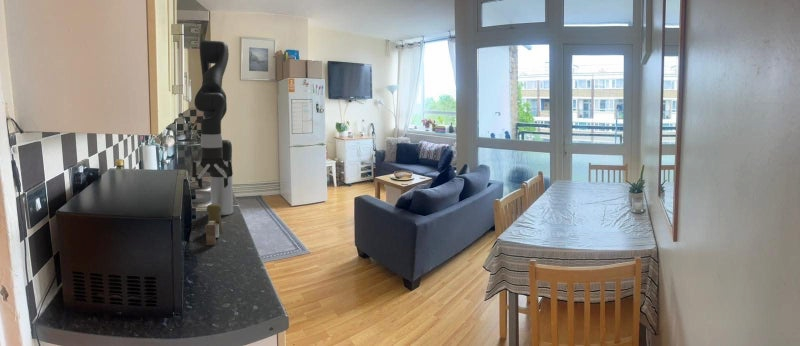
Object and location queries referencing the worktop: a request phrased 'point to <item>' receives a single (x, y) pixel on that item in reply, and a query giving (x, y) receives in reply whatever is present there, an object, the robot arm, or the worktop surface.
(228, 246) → the worktop surface
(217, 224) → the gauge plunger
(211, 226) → the beige upright block
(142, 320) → the worktop surface
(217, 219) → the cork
